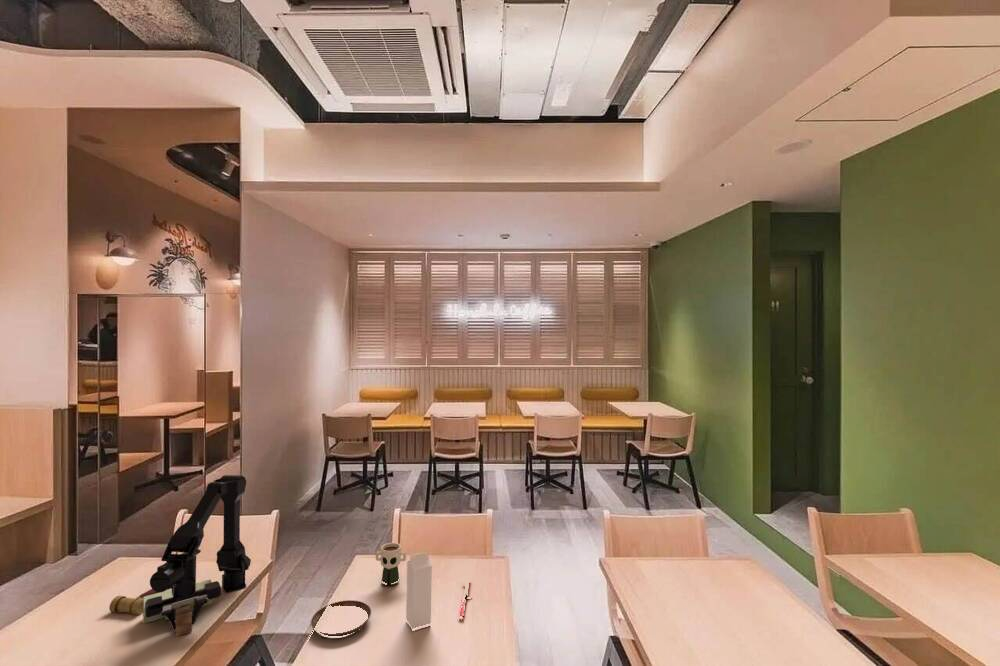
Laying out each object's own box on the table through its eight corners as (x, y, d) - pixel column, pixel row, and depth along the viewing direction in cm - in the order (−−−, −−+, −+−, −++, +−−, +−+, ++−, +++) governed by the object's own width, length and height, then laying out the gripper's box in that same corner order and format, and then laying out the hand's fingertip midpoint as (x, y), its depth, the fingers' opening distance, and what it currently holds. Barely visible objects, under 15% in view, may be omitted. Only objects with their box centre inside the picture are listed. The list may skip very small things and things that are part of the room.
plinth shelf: (210, 600, 161) (210, 579, 161) (213, 610, 155) (214, 588, 155) (143, 619, 149) (143, 596, 149) (144, 631, 144) (144, 607, 144)
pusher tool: (192, 608, 155) (192, 590, 155) (191, 631, 143) (191, 611, 143) (177, 612, 153) (177, 593, 153) (175, 635, 141) (175, 615, 141)
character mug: (372, 587, 170) (373, 551, 170) (377, 577, 177) (378, 542, 177) (403, 588, 170) (404, 551, 170) (407, 578, 177) (407, 542, 177)
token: (182, 613, 153) (182, 608, 153) (178, 621, 149) (178, 615, 149) (167, 616, 151) (167, 611, 151) (163, 623, 148) (163, 618, 148)
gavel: (163, 572, 173) (189, 574, 172) (162, 585, 173) (188, 587, 171) (109, 599, 152) (137, 602, 151) (108, 614, 152) (136, 618, 151)
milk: (430, 627, 148) (432, 555, 148) (411, 632, 145) (413, 559, 145) (423, 616, 154) (425, 547, 154) (405, 621, 151) (407, 551, 151)
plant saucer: (300, 643, 140) (300, 632, 140) (323, 608, 158) (323, 599, 158) (361, 644, 140) (361, 634, 140) (377, 609, 157) (377, 600, 157)
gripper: (216, 555, 156) (215, 604, 156) (144, 572, 144) (143, 625, 144) (222, 569, 147) (221, 620, 147) (146, 588, 136) (145, 644, 136)
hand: (183, 626), depth 144 cm, fingers closed on pusher tool, 4 cm apart
